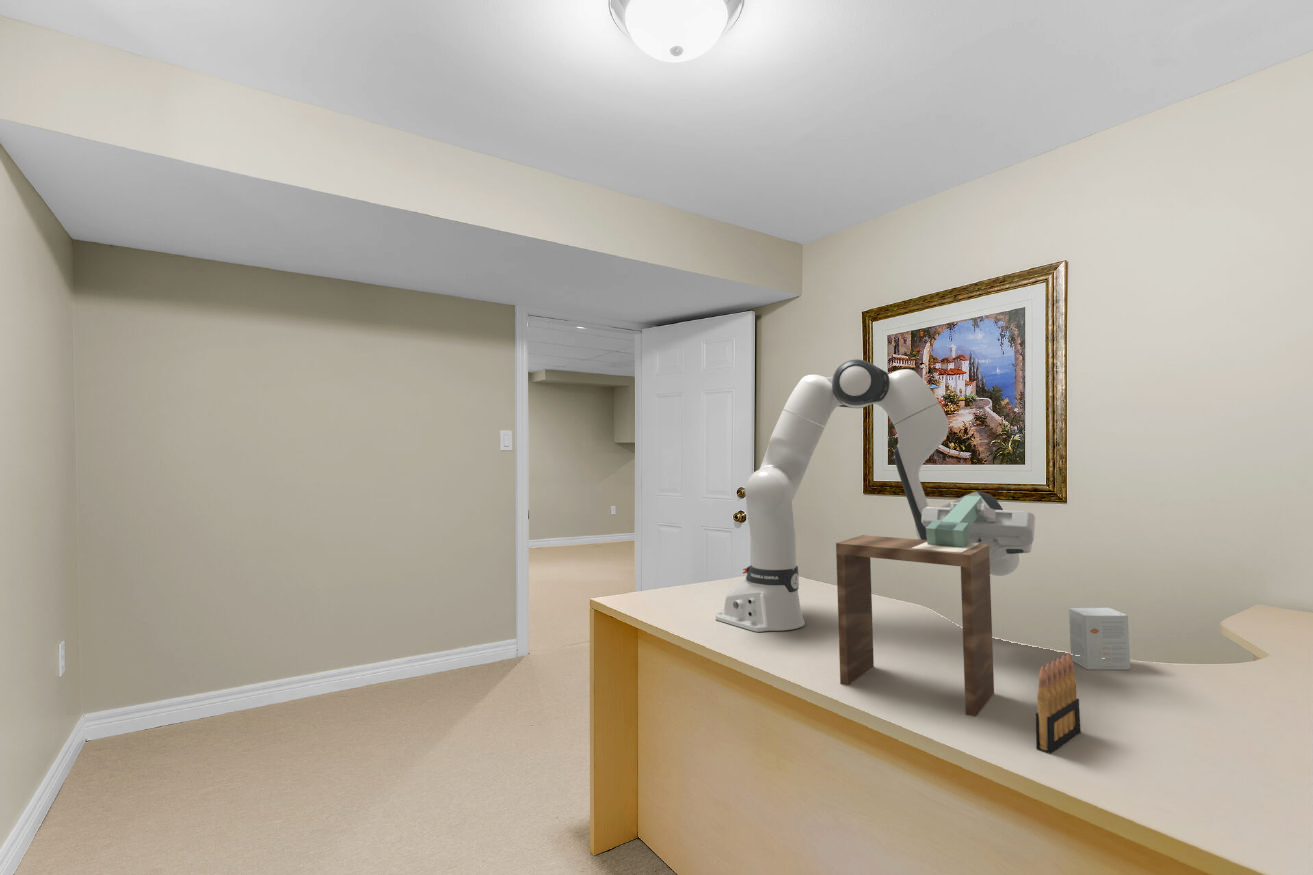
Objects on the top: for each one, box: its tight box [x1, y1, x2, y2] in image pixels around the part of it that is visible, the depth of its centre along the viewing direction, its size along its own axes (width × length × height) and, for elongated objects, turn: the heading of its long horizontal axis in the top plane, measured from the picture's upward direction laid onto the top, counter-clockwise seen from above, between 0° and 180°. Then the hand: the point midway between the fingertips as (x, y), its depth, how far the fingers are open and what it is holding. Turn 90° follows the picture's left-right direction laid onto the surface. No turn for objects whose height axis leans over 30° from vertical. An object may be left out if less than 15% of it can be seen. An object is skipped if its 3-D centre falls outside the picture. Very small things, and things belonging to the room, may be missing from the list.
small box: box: [1068, 607, 1131, 671], centre depth 120 cm, size 8×6×10 cm
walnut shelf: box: [835, 534, 995, 718], centre depth 112 cm, size 23×12×26 cm, turn 49°
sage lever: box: [926, 495, 982, 547], centre depth 115 cm, size 6×20×3 cm, turn 139°
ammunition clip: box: [1035, 652, 1082, 755], centre depth 91 cm, size 11×2×12 cm, turn 126°
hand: (967, 506), depth 119 cm, fingers closed on sage lever, 3 cm apart
